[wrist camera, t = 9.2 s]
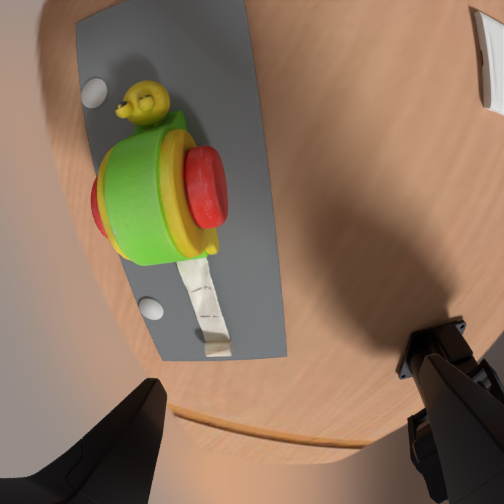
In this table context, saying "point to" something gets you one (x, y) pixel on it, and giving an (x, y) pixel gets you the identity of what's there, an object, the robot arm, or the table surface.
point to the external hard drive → (491, 61)
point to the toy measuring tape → (165, 201)
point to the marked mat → (203, 133)
